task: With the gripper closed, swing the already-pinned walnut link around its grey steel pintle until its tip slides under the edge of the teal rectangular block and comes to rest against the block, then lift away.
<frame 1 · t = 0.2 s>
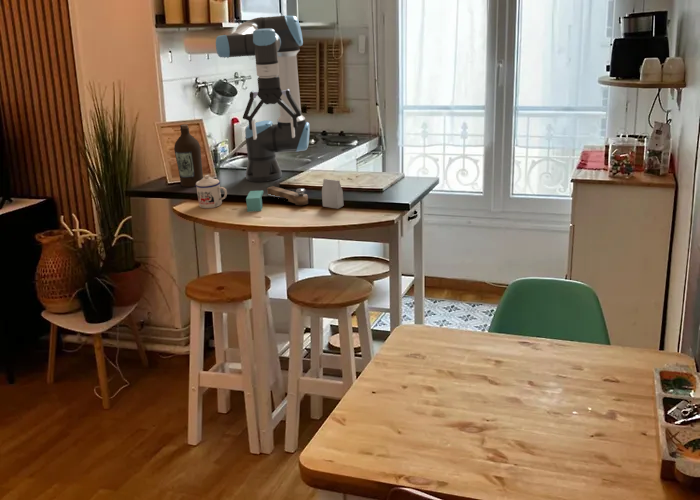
hand: (274, 137, 262), 27 cm above the breakfast bar, fingers open, 13 cm apart
white paper bag: (333, 206, 275), on the breakfast bar
teacup with lid: (214, 205, 285), on the breakfast bar
teal rectangular block: (255, 207, 279), on the breakfast bar
olive oil: (192, 184, 315), on the breakfast bar
walnut link: (287, 195, 285), point 2 cm above the breakfast bar, hinge at -45.0°
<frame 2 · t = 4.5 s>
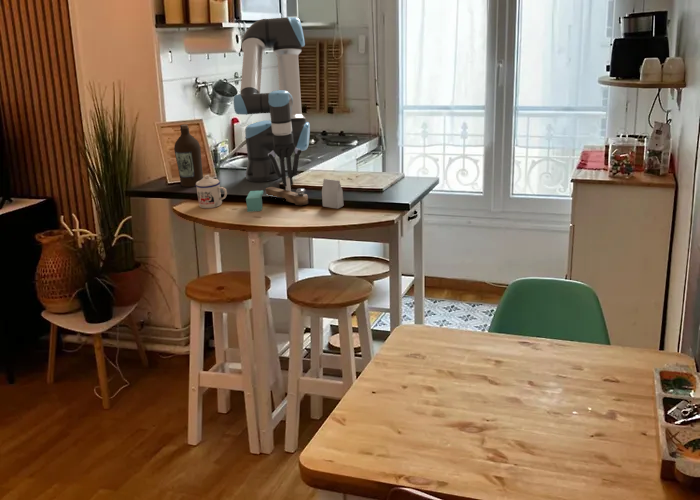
hand: (288, 193, 288), 2 cm above the breakfast bar, fingers closed
walnut link: (286, 195, 285), point 2 cm above the breakfast bar, hinge at -42.6°, touching gripper
everything else where it was.
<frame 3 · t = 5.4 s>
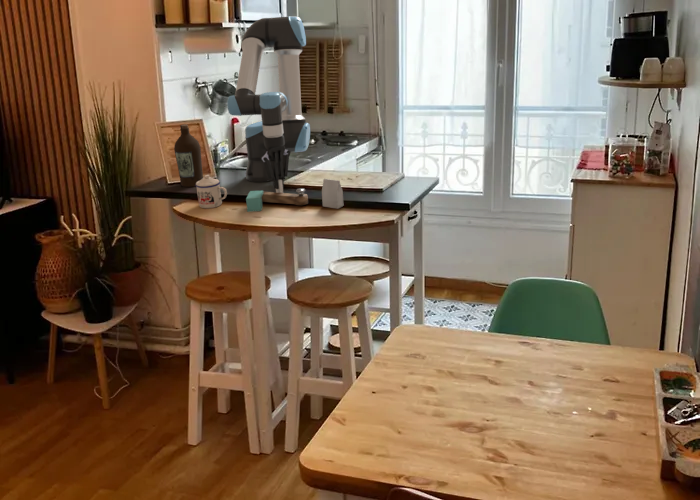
hand: (280, 196, 286), 2 cm above the breakfast bar, fingers closed
walnut link: (281, 198, 282), point 2 cm above the breakfast bar, hinge at -21.7°, touching gripper
everything else where it was.
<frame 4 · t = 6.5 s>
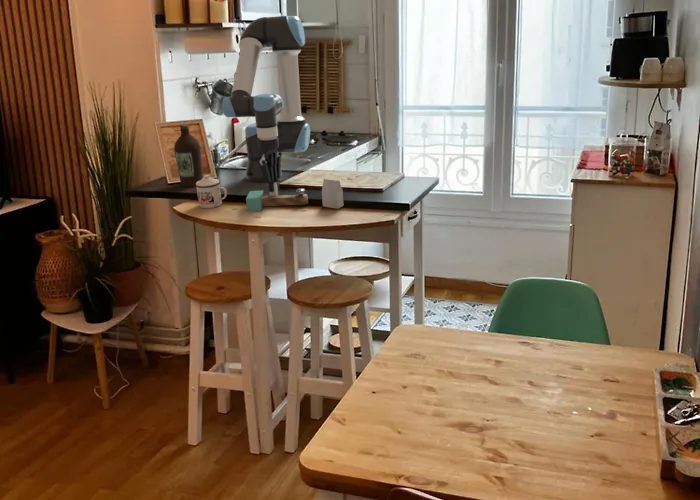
hand: (274, 199, 282), 2 cm above the breakfast bar, fingers closed
walnut link: (279, 200, 280), point 2 cm above the breakfast bar, hinge at -0.9°, touching gripper
everything else where it was.
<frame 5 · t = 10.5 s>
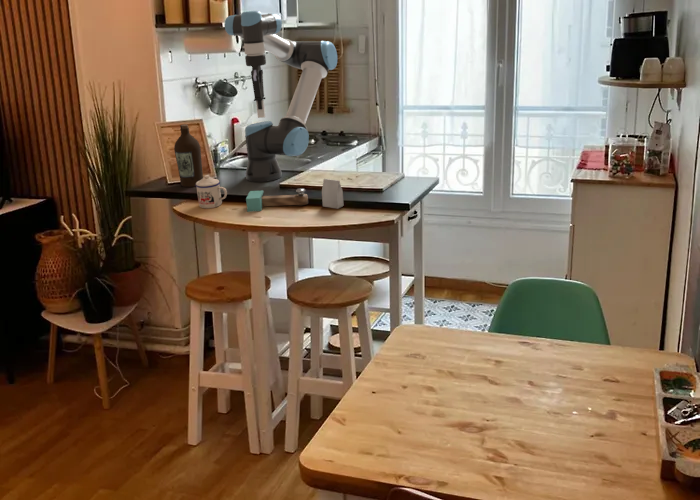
hand: (261, 117, 288), 29 cm above the breakfast bar, fingers closed
walnut link: (279, 200, 280), point 2 cm above the breakfast bar, hinge at -0.8°
everything else where it was.
at the end: walnut link at -1° (first picture: -45°); teacup with lid moved 0.2 cm from its start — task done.
